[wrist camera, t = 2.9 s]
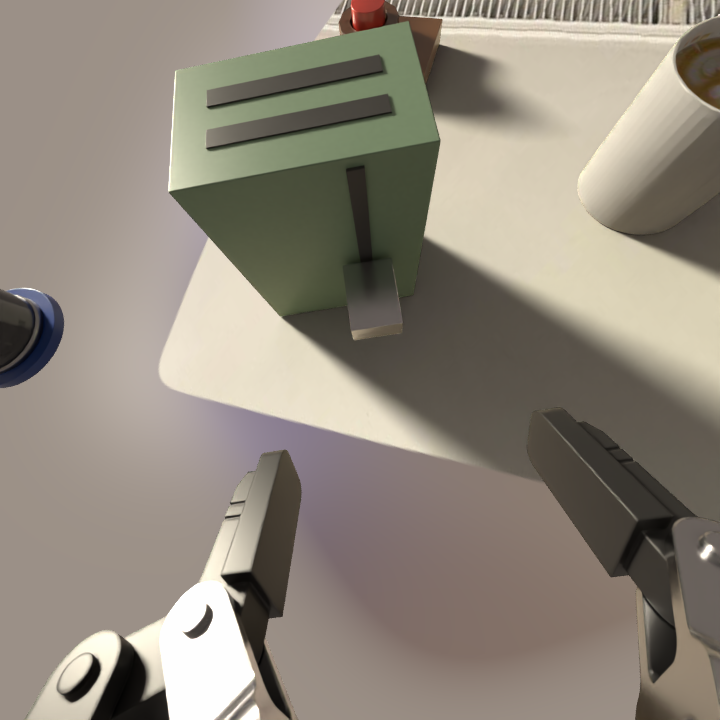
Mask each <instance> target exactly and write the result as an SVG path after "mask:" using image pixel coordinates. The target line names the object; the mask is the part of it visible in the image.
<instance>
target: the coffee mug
mask: <svg viewBox="0 0 720 720" xmlns="http://www.w3.org/2000/svg"><path fill="white" fill-rule="evenodd" d="M719 193H720V16H716V17H713V18H710V19H707V20H704V21H702V22H700V23H698V24H697V25H695V26H693V27H692V28H690V29H689V30H688V31H686V32H685V33H684V34H683V35H682V36H681V37H680V39H679V40H678V41H677V42H676V43H675V45H674V46H673V47H672V49H671V50H670V51H669V53H668V54H667V55H666V57H665V58H664V60H663V61H662V62H661V64H660V65H659V66H658V68H657V69H656V71H655V72H654V73H653V75H652V76H651V77H650V79H649V80H648V81H647V83H646V84H645V86H644V87H643V88H642V90H641V91H640V92H639V94H638V95H637V97H636V98H635V99H634V101H633V102H632V103H631V105H630V106H629V107H628V109H627V110H626V112H625V113H624V114H623V116H622V117H621V118H620V120H619V121H618V122H617V124H616V125H615V127H614V128H613V129H612V131H611V132H610V133H609V135H608V136H607V138H606V139H605V140H604V142H603V143H602V144H601V146H600V147H599V148H598V150H597V151H596V153H595V154H594V155H593V157H592V158H591V159H590V161H589V162H588V164H587V165H586V166H585V168H584V169H583V171H582V172H581V174H580V177H579V180H578V194H579V198H580V201H581V202H582V204H583V206H584V208H585V209H586V211H587V212H588V213H589V214H590V215H591V216H592V217H593V218H594V219H596V220H597V221H598V222H600V223H601V224H603V225H605V226H607V227H609V228H611V229H613V230H616V231H620V232H623V233H628V234H635V235H647V234H654V233H659V232H663V231H665V230H668V229H670V228H672V227H674V226H675V225H677V224H678V223H679V222H681V221H682V220H683V219H685V218H686V217H688V216H689V215H690V214H692V213H693V212H694V211H696V210H697V209H698V208H700V207H701V206H702V205H704V204H705V203H707V202H708V201H709V200H711V199H712V198H713V197H715V196H716V195H717V194H719Z"/></svg>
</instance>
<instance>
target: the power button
mask: <svg viewBox="0 0 720 720" xmlns="http://www.w3.org/2000/svg"><path fill="white" fill-rule="evenodd" d="M351 11H352V22H353V28H354V30H356V31H358V32H359V31H364V30H369V29H373V28H378V27H382V26H384V24H385V0H352V2H351Z"/></svg>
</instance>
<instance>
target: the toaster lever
mask: <svg viewBox="0 0 720 720" xmlns="http://www.w3.org/2000/svg"><path fill="white" fill-rule="evenodd" d="M343 274H344V282H345V290H346V298H347V306H348V314H349V321H350V329H351V333H352V336H353V339H354V340H359V339H366V338H373V337H379V336H386V335H392V334H399V333H402V327H403V319H402V313H401V308H400V302H399V297H398V291H397V285H396V280H395V274H394V269H393V263H392V258H385V259H379V260H373V261H367V262H361V263H355V264H349V265H343Z"/></svg>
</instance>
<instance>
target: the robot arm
mask: <svg viewBox="0 0 720 720" xmlns="http://www.w3.org/2000/svg"><path fill="white" fill-rule="evenodd" d="M42 330H43V315H42V312H41V309H40V308H39V306H38V305H37V304H36V303H35V302H34V301H32V300H30V299H27V298H25V297H22V296H19V295H14V294H12V293H9V292H7V291H4V290H1V289H0V374H2V373H5V372H7V371H9V370H11V369H13V368H15V367H16V366H18V365H19V364H21V363H22V362H23V361H24V360H25V359H26V358H27V357H28V356H29V355H30V354H31V353H32V351H33V350H34V349H35V347H36V345H37V344H38V342H39V339H40V337H41V334H42ZM527 451H528V455H529V458H530V461H531V463H532V465H533V466H534V468H535V469H536V470H537V472H538V473H539V475H540V476H541V478H542V479H543V481H544V482H545V483H546V485H547V486H548V488H549V489H550V491H551V492H552V493H553V495H554V496H555V498H556V499H557V501H558V502H559V503H560V505H561V506H562V508H563V509H564V511H565V512H566V514H567V515H568V516H569V518H570V519H571V521H572V522H573V524H574V525H575V527H576V528H577V529H578V531H579V532H580V534H581V535H582V537H583V538H584V540H585V541H586V542H587V544H588V545H589V547H590V548H591V550H592V551H593V552H594V554H595V555H596V557H597V558H598V559H599V561H600V563H601V564H602V565H603V567H604V568H605V570H606V571H607V573H608V574H609V576H610V577H617V576H625V575H629V576H630V577H631V578H632V580H633V581H634V582H635V583H636V585H637V589H636V610H637V627H638V642H639V643H638V644H639V659H640V678H641V683H640V693H639V698H638V702H637V708H636V717H635V720H720V523H719V522H716V521H713V520H710V519H706V518H700V517H697V516H696V515H695V514H693V513H692V512H691V511H690V510H689V509H688V508H686V507H685V506H684V505H683V504H682V503H681V502H680V501H679V500H678V499H677V498H676V497H674V496H673V495H672V494H671V493H670V492H669V491H668V490H667V489H666V488H665V487H663V486H662V485H661V484H660V483H659V482H658V481H657V480H656V479H655V478H654V477H652V476H651V475H650V474H649V473H648V472H647V471H646V470H645V469H644V468H643V467H641V466H640V465H639V464H638V463H637V462H634V461H633V459H632V457H630V456H629V455H628V454H627V453H626V452H625V451H624V450H623V449H620V448H619V446H618V445H617V444H616V443H615V442H614V441H613V440H612V439H611V438H610V437H609V436H607V435H606V434H605V433H604V432H603V431H601V430H599V429H597V428H595V427H593V426H591V425H590V424H588V423H586V422H584V421H582V422H577V421H576V420H575V419H574V418H573V417H572V416H571V415H570V414H568V413H567V412H566V411H565V410H564V409H562V408H559V407H558V408H552V409H545V410H539V411H534V412H533V413H532V415H531V420H530V427H529V435H528V442H527ZM300 502H301V483H300V479H299V477H298V474H297V472H296V470H295V467H294V465H293V462H292V460H291V457H290V455H289V453H288V451H287V450H279V451H273V452H267V453H263V454H262V455H261V457H260V460H259V463H258V466H257V469H256V471H251V472H248V473H247V474H246V475H245V477H244V478H243V479H242V480H241V482H240V483H239V484H238V486H237V487H236V490H235V492H234V495H233V497H232V500H231V502H230V504H231V505H230V506H229V507H228V510H227V513H226V515H225V520H224V521H223V523H222V525H221V528H220V531H219V533H218V536H217V538H216V541H215V543H214V546H213V549H212V551H211V554H210V557H209V559H208V561H207V564H206V567H205V569H204V572H203V574H202V576H201V579H200V581H199V583H198V584H197V586H195V587H194V588H192V589H191V590H189V591H188V592H187V593H186V594H184V595H183V596H182V597H181V599H180V600H179V601H178V602H177V603H176V604H175V606H174V607H173V609H172V610H171V612H170V613H169V615H167V616H166V617H164V618H162V619H160V620H158V621H156V622H154V623H152V624H151V625H148V626H146V627H144V628H143V629H141V630H138V631H136V632H135V633H133V634H130V635H129V636H126V637H125V638H123V637H121V636H120V635H119V634H117V633H116V632H114V631H111V630H105V631H101V632H98V633H96V634H93V635H92V636H90V637H88V638H87V639H85V640H84V641H82V642H81V643H80V644H78V645H77V646H76V647H75V648H74V649H73V650H72V651H71V652H70V653H69V654H68V655H67V656H66V657H65V658H64V659H63V660H62V661H61V662H60V664H59V665H58V666H57V667H56V669H55V670H54V672H53V673H52V674H51V676H50V677H49V679H48V681H47V682H46V684H45V685H44V687H43V689H42V690H41V692H40V694H39V696H38V697H37V699H36V701H35V702H34V704H33V706H32V707H31V709H30V711H29V712H28V714H27V716H26V718H25V719H24V720H298V718H297V716H296V714H295V711H294V709H293V706H292V704H291V701H290V698H289V696H288V694H287V691H286V688H285V686H284V683H283V681H282V678H281V676H280V673H279V671H278V668H277V666H276V663H275V661H274V658H273V656H272V653H271V650H270V648H269V646H268V643H267V640H266V638H265V635H266V629H267V624H268V619H269V618H276V617H282V616H283V610H284V604H285V603H284V602H285V597H286V590H287V585H288V578H289V572H290V566H291V559H292V553H293V546H294V540H295V533H296V528H297V521H298V515H299V509H300Z"/></svg>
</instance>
